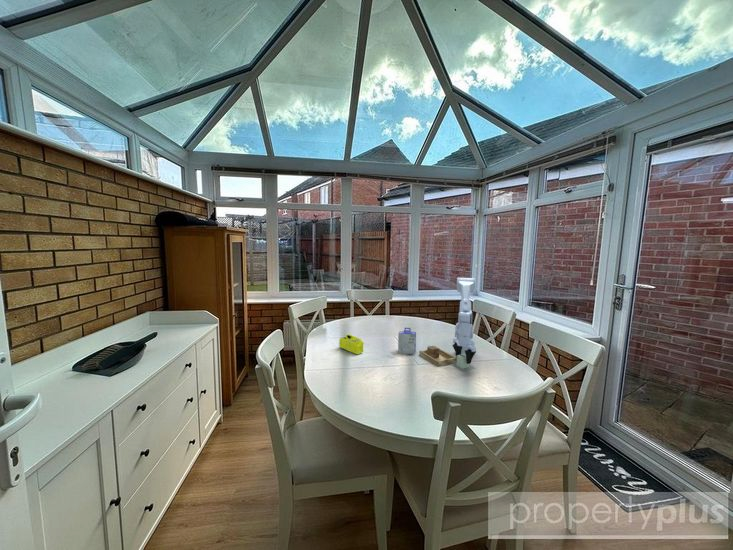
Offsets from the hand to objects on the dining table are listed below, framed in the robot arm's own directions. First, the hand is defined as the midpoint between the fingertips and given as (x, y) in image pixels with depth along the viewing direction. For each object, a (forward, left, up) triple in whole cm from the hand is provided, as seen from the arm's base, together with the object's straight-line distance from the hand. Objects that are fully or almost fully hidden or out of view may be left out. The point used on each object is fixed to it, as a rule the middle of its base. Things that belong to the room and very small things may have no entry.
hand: (463, 360), depth 154 cm
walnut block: (+6, -17, -3) cm, 19 cm away
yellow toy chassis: (+45, -45, -4) cm, 63 cm away
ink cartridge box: (+16, -29, -4) cm, 33 cm away
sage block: (0, 0, -3) cm, 3 cm away
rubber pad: (0, 0, -4) cm, 4 cm away
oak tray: (+6, -13, -4) cm, 15 cm away
